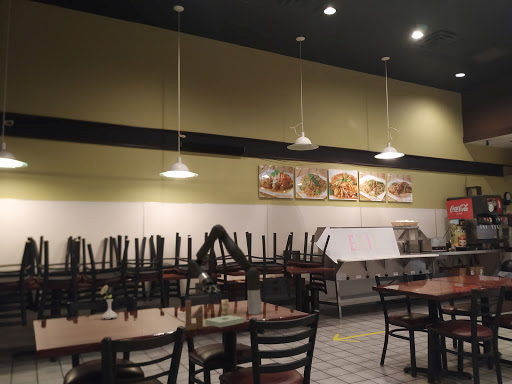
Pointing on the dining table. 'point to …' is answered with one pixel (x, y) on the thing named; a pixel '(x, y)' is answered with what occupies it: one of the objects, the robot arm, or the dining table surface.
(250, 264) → the robot arm
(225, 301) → the beech peg
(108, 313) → the flower in vase
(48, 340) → the dining table surface
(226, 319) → the sage board
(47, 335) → the dining table surface
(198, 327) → the brown wooden bracket
